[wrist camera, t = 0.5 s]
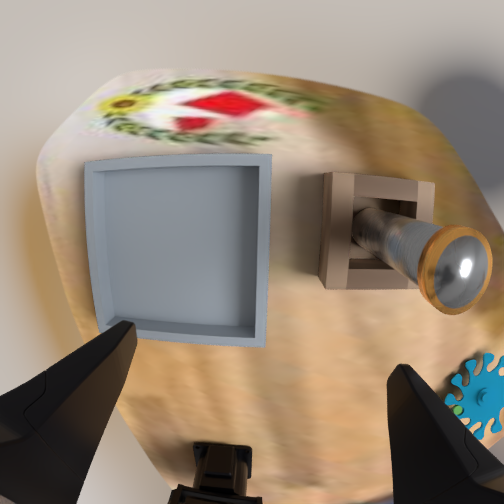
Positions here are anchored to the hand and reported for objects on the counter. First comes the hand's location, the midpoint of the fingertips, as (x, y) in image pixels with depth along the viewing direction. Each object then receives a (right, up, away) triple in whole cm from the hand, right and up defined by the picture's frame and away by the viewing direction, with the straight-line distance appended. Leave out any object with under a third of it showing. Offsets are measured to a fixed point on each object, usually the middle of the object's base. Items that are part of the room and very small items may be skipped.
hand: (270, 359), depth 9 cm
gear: (+24, -12, +17) cm, 32 cm away
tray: (-6, +4, +14) cm, 16 cm away
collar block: (+9, +5, +13) cm, 17 cm away
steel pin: (+9, +5, +13) cm, 17 cm away
